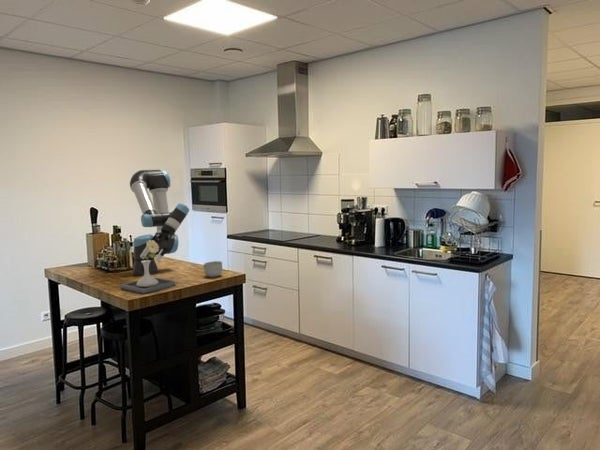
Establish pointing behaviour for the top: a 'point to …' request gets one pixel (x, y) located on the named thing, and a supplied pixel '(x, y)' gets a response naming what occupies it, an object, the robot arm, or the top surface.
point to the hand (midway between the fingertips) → (149, 259)
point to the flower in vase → (147, 278)
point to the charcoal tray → (144, 290)
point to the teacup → (213, 268)
